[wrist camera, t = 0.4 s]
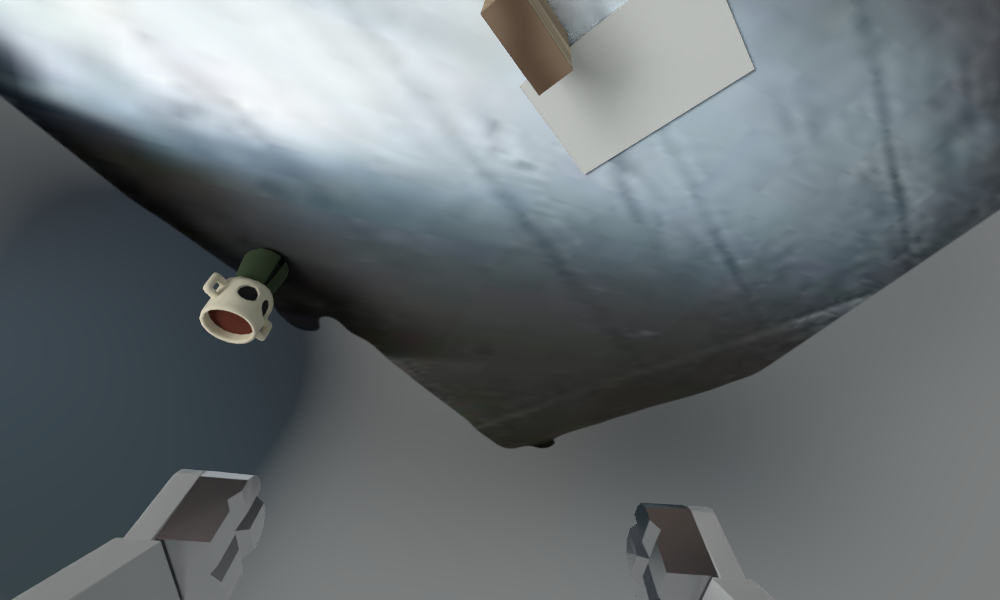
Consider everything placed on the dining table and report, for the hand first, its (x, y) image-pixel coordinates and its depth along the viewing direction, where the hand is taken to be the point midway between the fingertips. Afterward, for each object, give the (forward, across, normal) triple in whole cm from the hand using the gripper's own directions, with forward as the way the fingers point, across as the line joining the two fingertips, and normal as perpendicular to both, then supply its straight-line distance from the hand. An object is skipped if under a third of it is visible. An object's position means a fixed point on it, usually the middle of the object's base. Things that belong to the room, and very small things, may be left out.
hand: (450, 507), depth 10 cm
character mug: (+59, +32, +22) cm, 70 cm away
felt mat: (+48, -14, -8) cm, 51 cm away
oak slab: (+47, -2, -13) cm, 49 cm away
